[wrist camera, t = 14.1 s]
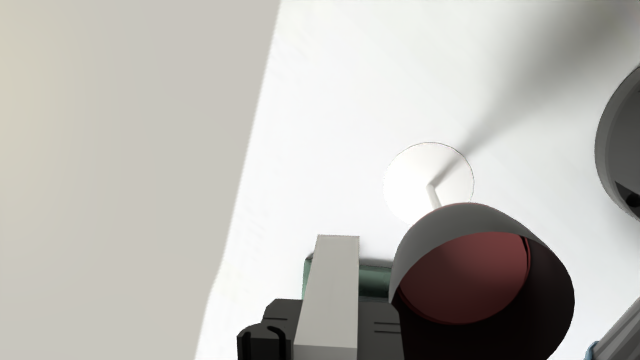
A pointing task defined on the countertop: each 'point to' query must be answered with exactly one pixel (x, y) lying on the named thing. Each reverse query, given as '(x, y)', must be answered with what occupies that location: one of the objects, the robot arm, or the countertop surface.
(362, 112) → the countertop surface
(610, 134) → the robot arm
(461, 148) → the countertop surface
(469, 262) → the wineglass
